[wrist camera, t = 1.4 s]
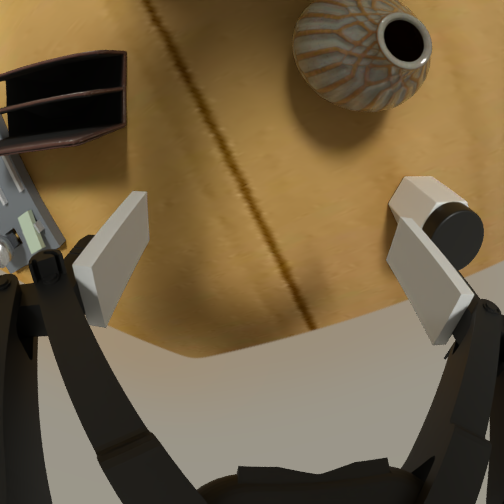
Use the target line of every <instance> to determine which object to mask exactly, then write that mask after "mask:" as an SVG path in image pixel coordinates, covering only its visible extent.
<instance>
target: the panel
mask: <svg viewBox="0 0 504 504" xmlns="http://www.w3.org/2000/svg"><path fill="white" fill-rule="evenodd" d="M8 137H9V132H8V129H7V127H6V125H5V122H4V120H3V117H2V115H1V114H0V140H2V139H5V138H8ZM13 228H14V229H15V230H16V232H17V234H18V235H19V237H20V239H21V240H22V242H21V243H20V242H19V240H18V239H17V237H16V236H15V234H14V232H13V230H12V229H13ZM11 233H13V235H14V237H15V238H16V240H17V242H18V243H19V244H18V245H17V246H16V247H15V248H14V257H13V259H12V260H11V261H10V262H9V263H8V264H7V265H6V267H7V269H8V270H9V272H10V273H13V272H15V271H17V270H18V269H20V268H22V267H24V266H25V265H27V264H29V260H30V259H31V257H32V256H33V255H35V254H36V253H38V252H40V251H43V250H47V249H57V248H59V247H60V246H61V245H62V244H63V243H64V242H65V241H66V240H65V238H64V237H63V235H62V233H61V232H60V230H59V228H58V227H57V225H56V223H55V222H54V220H53V218H52V216H51V215H50V213H49V211H48V209H47V208H46V206H45V204H44V202H43V201H42V199H41V197H40V195H39V193H38V191H37V189H36V188H35V186H34V184H33V182H32V180H31V178H30V176H29V174H28V172H27V170H26V168H25V166H24V164H23V162H22V160H21V158H20V156H19V154H11V155H5V156H0V235H3V236H5V237H6V236H8V235H9V234H11Z"/></svg>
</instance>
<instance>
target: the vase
mask: <svg viewBox="0 0 504 504" xmlns="http://www.w3.org/2000/svg"><path fill="white" fill-rule="evenodd" d="M292 49H293V56H294V60H295V63H296V66H297V68H298V70H299V72H300V74H301V76H302V77H303V79H304V80H305V82H306V83H307V84H308V85H309V87H310V88H311V89H312V90H313V91H314V92H316V93H317V94H318V95H319V96H321V97H322V98H324V99H325V100H327V101H329V102H330V103H332V104H334V105H336V106H339V107H342V108H345V109H349V110H353V111H359V112H378V111H384V110H388V109H391V108H394V107H396V106H398V105H400V104H402V103H404V102H405V101H407V100H408V99H409V98H411V97H412V96H413V95H414V94H415V93H416V92H417V91H418V90H419V88H420V87H421V85H422V84H423V82H424V81H425V79H426V76H427V74H428V71H429V67H430V57H431V53H432V41H431V37H430V35H429V32H428V30H427V29H426V27H425V26H424V25H423V24H422V22H421V21H419V20H418V18H417V17H416V16H415V15H414V14H413V13H412V11H411V10H410V9H408V8H407V7H406V6H405V5H404V4H403V3H401V2H400V1H398V0H315V1H313V2H312V3H311V4H310V5H309V6H308V7H307V8H306V9H305V10H304V11H303V13H302V14H301V16H300V17H299V19H298V21H297V23H296V26H295V29H294V32H293V38H292Z"/></svg>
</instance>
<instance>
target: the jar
mask: <svg viewBox="0 0 504 504" xmlns="http://www.w3.org/2000/svg"><path fill="white" fill-rule="evenodd" d="M388 205H389V207H390V209H391V211H392V213H393V215H394V217H395V219H396V221H397V224H398V222H399V219H400V217H405V218H412V219H413V220H414V221H415V222H416V224H417V225H418V226H419V227H420V228H421V229H422V230H423V231H424V233H425V234H426V235H427V236H428V237H429V238H430V240H431V241H432V242H433V243H434V244H435V245H436V247H437V248H438V249H439V250H440V251H441V253H442V254H443V255H444V256H445V257H446V259H447V260H448V261H449V262H450V264H451V265H452V266H453V267H454V268H456V269H457V270H460V269H462V268H464V267H465V266H467V265H468V264H469V263H470V262H471V261H472V260H473V259H474V257H475V256H476V255H477V253H478V251H479V249H480V247H481V245H482V241H483V236H484V228H483V223H482V221H481V219H480V217H479V216H478V215H477V214H476V213H475V212H474V211H472V210H471V209H470V208H469V207H468V204H467V201H465V200H464V199H463V198H461V197H460V196H459V195H457V194H456V193H455V192H453V191H452V190H451V189H449V188H448V187H446V186H445V185H444V184H442V183H441V182H439V181H438V180H437V179H435V178H434V177H432V176H405V177H404V178H403V180H402V181H401V183H400V185H399V186H398V188H397V190H396V191H395V193H394V195H393V196H392V198H391V200H390V201H389V203H388Z"/></svg>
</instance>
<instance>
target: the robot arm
mask: <svg viewBox="0 0 504 504" xmlns="http://www.w3.org/2000/svg"><path fill="white" fill-rule="evenodd" d="M148 242H149V224H148V204H147V192H144V191H132V192H131V194H130V195H129V196H128V197H127V198H126V199H125V200H124V201H123V203H122V204H121V205H120V206H119V207H118V208H117V210H116V211H115V212H114V213H113V214H112V215H111V217H110V218H109V219H108V220H107V221H106V223H105V224H104V225H103V226H102V227H101V229H100V230H99V231H98V232H97V234H96V235H87V236H85V237H84V238H82V239H81V240H79V241H78V243H77V244H76V245H75V246H74V248H73V249H72V250H71V251H70V253H69V254H68V255H67V256H66V257H65V258H64V260H63V255H62V253H61V252H60V251H59V250H56V249H47V250H43V251H40V252H38V253H36V254H35V255H33V256H32V257H31V259H30V260H29V264H28V265H29V268H30V272H31V275H32V278H33V281H34V283H31V284H22V285H20V284H19V281H18V278H17V277H16V276H15V275H13V274H4V275H0V504H52V499H51V495H50V490H49V486H48V480H47V474H46V468H45V462H44V455H43V448H42V440H41V430H40V420H39V407H38V381H37V350H38V336H48V337H49V340H50V344H51V346H52V350H53V353H54V356H55V359H56V362H57V364H58V367H59V370H60V373H61V375H62V378H63V381H64V383H65V386H66V389H67V391H68V393H69V396H70V398H71V401H72V403H73V405H74V408H75V410H76V412H77V415H78V417H79V419H80V421H81V423H82V426H83V428H84V430H85V432H86V434H87V436H88V438H89V440H90V442H91V444H92V446H93V448H94V450H95V452H96V454H97V459H98V461H99V464H100V466H101V468H102V470H103V472H104V473H105V475H106V477H107V479H108V480H109V482H110V484H111V485H112V487H113V489H114V490H115V492H116V494H117V495H118V497H119V498H120V500H121V502H122V503H123V504H475V503H476V500H477V497H478V494H479V492H480V489H481V485H482V482H483V479H484V476H485V472H486V469H487V465H488V462H489V471H488V484H487V498H486V504H504V315H501V311H500V309H499V308H498V307H497V306H496V305H495V304H494V303H493V302H491V301H489V300H486V299H480V298H479V297H478V295H477V294H476V293H475V291H474V290H473V289H472V287H471V286H470V285H469V284H468V282H467V281H466V280H465V279H464V277H463V276H462V275H461V273H460V272H459V271H458V270H457V269H456V268H454V267H453V266H452V265H451V264H450V262H449V261H448V260H447V259H446V257H445V256H444V255H443V254H442V253H441V251H440V250H439V249H438V248H437V247H436V245H435V244H434V243H433V242H432V241H431V240H430V238H429V237H428V236H427V235H426V234H425V233H424V231H423V230H422V229H421V228H420V227H419V226H418V225H417V224H416V222H415V221H414V220H413V219H412V218H405V217H400V219H399V222H398V226H397V229H396V232H395V235H394V238H393V241H392V244H391V247H390V250H389V253H388V256H387V259H386V261H387V263H388V264H389V266H390V268H391V269H392V271H393V273H394V274H395V276H396V278H397V280H398V281H399V283H400V285H401V287H402V288H403V290H404V292H405V294H406V296H407V297H408V299H409V301H410V303H411V304H412V306H413V308H414V310H415V312H416V314H417V316H418V318H419V320H420V321H421V323H422V325H423V327H424V329H425V331H426V333H427V335H428V337H429V339H430V340H431V343H432V345H444V344H446V343H447V342H448V340H449V338H450V337H451V335H452V334H453V335H454V338H455V339H456V340H455V342H454V343H453V345H452V347H451V348H450V350H449V351H448V353H447V354H446V356H445V357H444V359H446V358H447V357H448V360H447V363H446V366H445V369H444V372H443V375H442V378H441V381H440V383H439V386H438V389H437V392H436V395H435V397H434V400H433V402H432V405H431V407H430V410H429V412H428V415H427V417H426V419H425V422H424V424H423V426H422V428H421V431H420V433H419V435H418V438H417V440H416V442H415V444H414V446H413V448H412V450H411V452H410V454H409V456H408V458H407V460H406V462H405V463H404V465H403V466H402V468H401V469H399V468H395V467H391V466H389V464H388V459H387V458H382V459H375V460H368V461H361V462H354V463H352V464H349V465H346V466H343V467H341V468H338V469H335V470H332V471H329V472H326V473H323V474H312V473H305V472H300V471H295V470H290V469H285V468H280V467H244V466H238V471H237V474H235V475H229V476H225V477H222V478H218V479H216V480H213V481H211V482H209V483H207V484H205V485H203V486H201V487H200V488H199V489H197V490H196V489H195V488H194V487H193V485H192V484H191V483H190V482H189V480H188V479H187V478H186V477H185V475H184V474H183V473H182V472H181V470H180V469H179V468H178V466H177V465H176V464H175V462H174V461H173V460H172V458H171V457H170V456H169V455H168V453H167V452H166V450H165V449H164V447H163V446H162V445H161V443H160V442H159V441H158V439H157V438H156V437H155V436H154V434H153V433H151V432H149V430H148V429H147V428H146V426H145V425H144V423H143V422H142V420H141V418H140V417H139V415H138V414H137V412H136V411H135V409H134V407H133V406H132V404H131V402H130V401H129V399H128V398H127V396H126V394H125V392H124V391H123V389H122V387H121V385H120V384H119V382H118V380H117V379H116V377H115V375H114V373H113V371H112V370H111V368H110V366H109V364H108V362H107V360H106V358H105V356H104V355H103V352H102V351H101V349H100V347H99V345H98V343H97V341H96V339H95V336H94V335H93V332H92V330H91V328H90V326H89V325H92V326H99V327H104V328H106V327H107V325H108V322H109V320H110V318H111V316H112V314H113V312H114V309H115V307H116V305H117V303H118V301H119V299H120V297H121V295H122V293H123V291H124V289H125V287H126V285H127V283H128V281H129V279H130V277H131V275H132V273H133V271H134V269H135V267H136V265H137V263H138V261H139V259H140V257H141V255H142V253H143V251H144V249H145V248H146V246H147V244H148ZM85 315H86V317H85ZM86 318H87V320H86ZM489 417H490V441H488V440H486V439H485V434H486V431H487V426H488V422H489Z"/></svg>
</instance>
